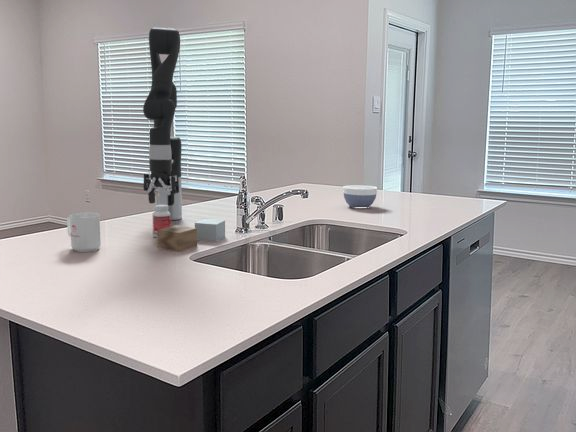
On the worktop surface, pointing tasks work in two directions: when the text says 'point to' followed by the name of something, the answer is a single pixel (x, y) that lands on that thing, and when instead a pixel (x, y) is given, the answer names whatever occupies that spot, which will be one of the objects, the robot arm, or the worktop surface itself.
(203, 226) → the grey block
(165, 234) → the walnut block
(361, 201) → the bowl
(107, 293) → the worktop surface
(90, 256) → the worktop surface
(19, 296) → the worktop surface
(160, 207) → the pill bottle
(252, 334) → the worktop surface
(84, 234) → the mug
